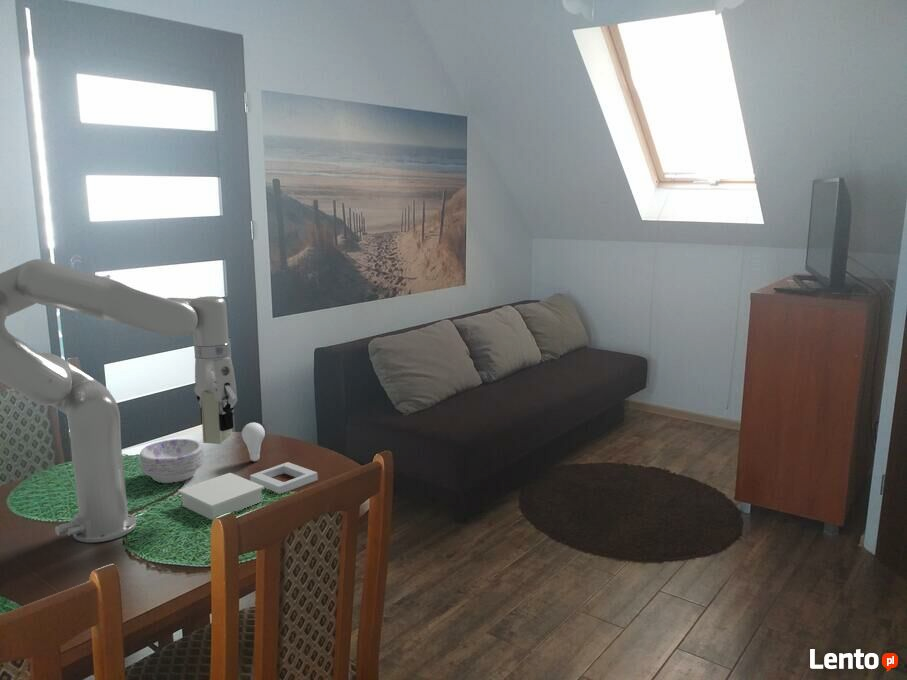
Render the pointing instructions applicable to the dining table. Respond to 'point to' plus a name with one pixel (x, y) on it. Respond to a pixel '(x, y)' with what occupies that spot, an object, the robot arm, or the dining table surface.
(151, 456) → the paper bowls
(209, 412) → the skincare box
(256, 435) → the lightbulb
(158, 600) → the dining table surface
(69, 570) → the dining table surface
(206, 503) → the stand
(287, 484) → the frame
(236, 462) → the dining table surface
